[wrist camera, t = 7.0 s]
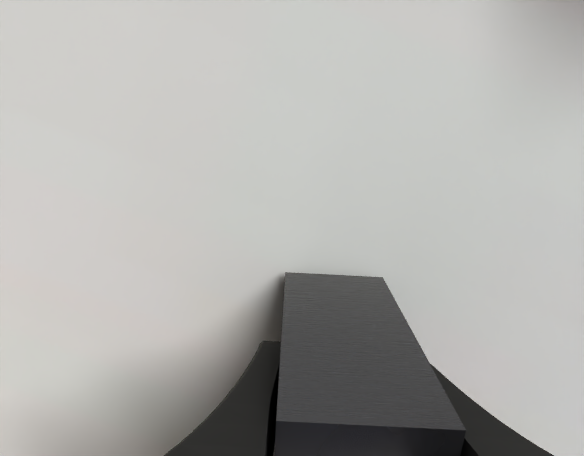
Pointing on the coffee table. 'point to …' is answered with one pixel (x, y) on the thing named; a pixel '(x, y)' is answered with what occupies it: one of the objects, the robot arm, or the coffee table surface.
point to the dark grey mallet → (356, 375)
